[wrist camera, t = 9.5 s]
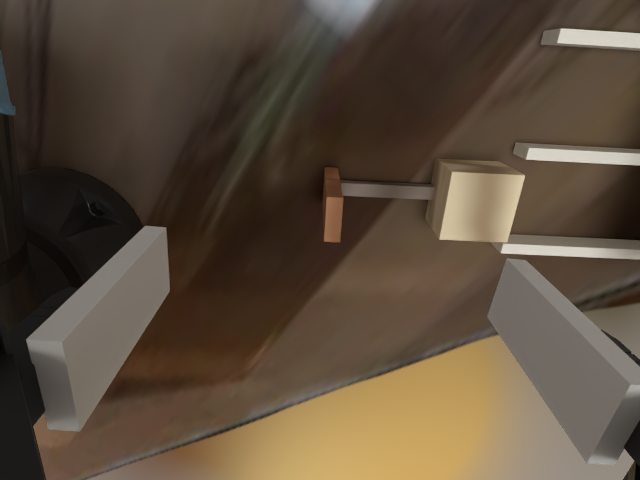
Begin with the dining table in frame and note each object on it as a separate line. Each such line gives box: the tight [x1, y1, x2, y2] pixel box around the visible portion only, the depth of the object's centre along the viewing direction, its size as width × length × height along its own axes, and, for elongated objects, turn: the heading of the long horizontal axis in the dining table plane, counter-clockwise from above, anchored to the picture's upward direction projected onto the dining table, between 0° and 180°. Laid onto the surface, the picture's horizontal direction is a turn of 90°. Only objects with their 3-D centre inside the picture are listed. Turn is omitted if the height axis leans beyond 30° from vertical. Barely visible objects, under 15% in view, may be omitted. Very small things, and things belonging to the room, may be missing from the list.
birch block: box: [323, 158, 525, 242], centre depth 33 cm, size 16×6×9 cm, turn 87°
